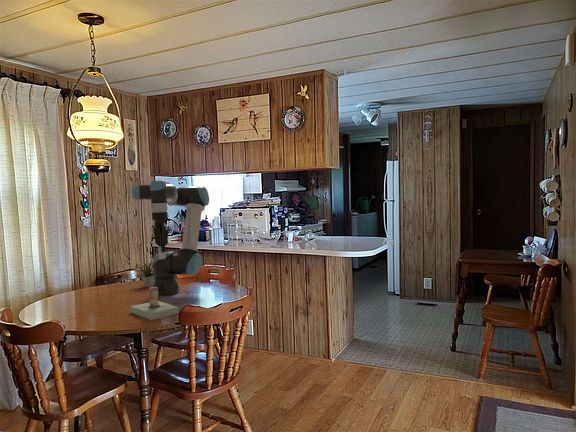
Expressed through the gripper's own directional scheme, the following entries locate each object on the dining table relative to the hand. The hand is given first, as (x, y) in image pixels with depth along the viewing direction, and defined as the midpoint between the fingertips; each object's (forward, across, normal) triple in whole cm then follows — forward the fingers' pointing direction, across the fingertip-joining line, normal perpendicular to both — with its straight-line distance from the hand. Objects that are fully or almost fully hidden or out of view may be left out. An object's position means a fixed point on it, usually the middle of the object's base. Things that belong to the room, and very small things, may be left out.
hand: (162, 258), depth 220 cm
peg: (+24, +8, -10) cm, 27 cm away
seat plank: (+24, +8, -10) cm, 27 cm away
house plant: (+26, -55, +21) cm, 64 cm away
